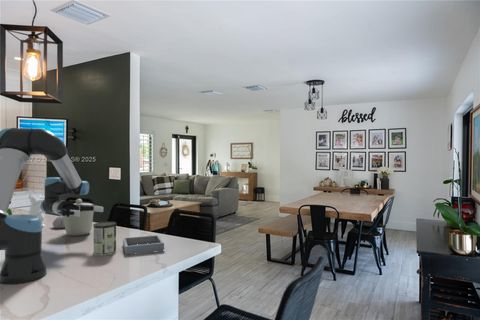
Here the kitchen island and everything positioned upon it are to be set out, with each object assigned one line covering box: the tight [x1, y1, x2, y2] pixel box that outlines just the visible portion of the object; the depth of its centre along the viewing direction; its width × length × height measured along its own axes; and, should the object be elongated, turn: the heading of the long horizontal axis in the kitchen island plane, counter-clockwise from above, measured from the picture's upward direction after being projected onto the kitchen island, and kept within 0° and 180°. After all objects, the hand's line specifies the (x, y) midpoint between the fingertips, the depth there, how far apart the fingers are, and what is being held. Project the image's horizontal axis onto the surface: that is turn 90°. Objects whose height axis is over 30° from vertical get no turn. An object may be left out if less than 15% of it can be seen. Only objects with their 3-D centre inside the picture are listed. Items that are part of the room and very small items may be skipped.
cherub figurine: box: [28, 194, 45, 228], centre depth 212 cm, size 12×12×22 cm
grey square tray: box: [122, 234, 165, 256], centre depth 164 cm, size 18×18×4 cm
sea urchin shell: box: [52, 215, 65, 229], centre depth 213 cm, size 13×14×8 cm
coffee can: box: [92, 221, 117, 257], centre depth 156 cm, size 10×10×14 cm
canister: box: [64, 198, 95, 237], centre depth 194 cm, size 18×18×21 cm
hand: (91, 211), depth 161 cm, fingers open, 13 cm apart
